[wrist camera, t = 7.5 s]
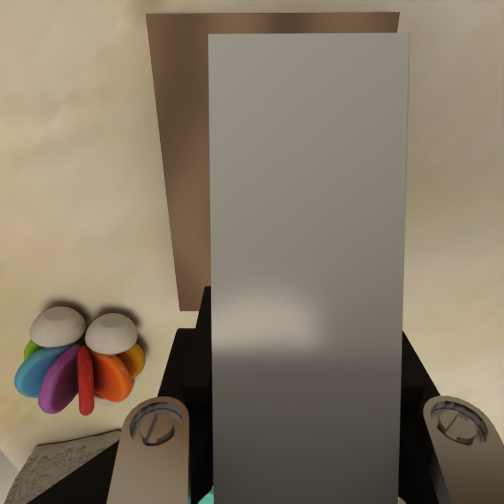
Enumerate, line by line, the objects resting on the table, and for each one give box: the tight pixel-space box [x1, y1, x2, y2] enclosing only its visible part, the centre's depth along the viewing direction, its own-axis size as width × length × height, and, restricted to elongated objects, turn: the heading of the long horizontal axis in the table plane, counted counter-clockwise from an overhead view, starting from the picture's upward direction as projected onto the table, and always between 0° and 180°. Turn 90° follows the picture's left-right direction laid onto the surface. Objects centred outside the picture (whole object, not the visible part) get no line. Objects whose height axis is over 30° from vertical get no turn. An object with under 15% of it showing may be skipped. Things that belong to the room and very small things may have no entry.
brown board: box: [146, 12, 400, 311], centre depth 24 cm, size 14×20×4 cm
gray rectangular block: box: [208, 33, 410, 504], centre depth 10 cm, size 4×14×7 cm, turn 0°
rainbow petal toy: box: [15, 307, 145, 415], centre depth 29 cm, size 8×10×7 cm
